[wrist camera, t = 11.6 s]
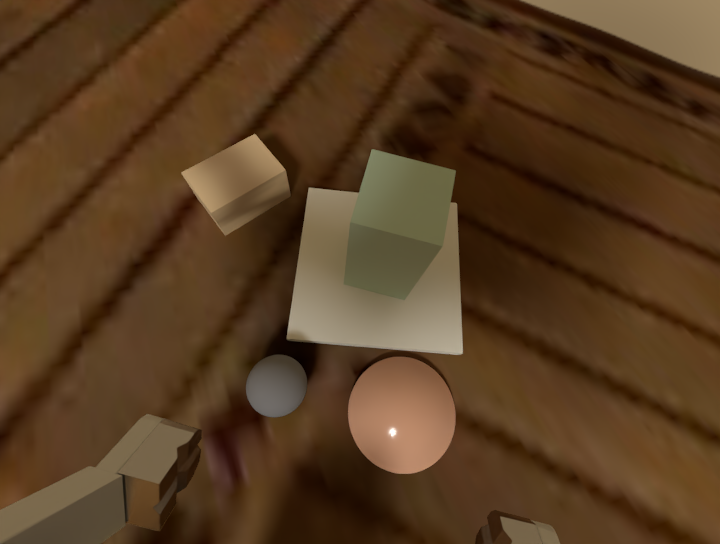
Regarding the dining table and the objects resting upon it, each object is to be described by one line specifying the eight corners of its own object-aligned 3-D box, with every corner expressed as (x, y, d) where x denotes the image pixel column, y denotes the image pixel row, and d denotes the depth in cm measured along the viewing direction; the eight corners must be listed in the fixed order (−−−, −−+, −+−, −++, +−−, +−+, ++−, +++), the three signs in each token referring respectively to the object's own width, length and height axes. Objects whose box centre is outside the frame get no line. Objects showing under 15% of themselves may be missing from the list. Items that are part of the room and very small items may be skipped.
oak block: (263, 164, 29) (254, 134, 26) (291, 197, 28) (285, 169, 25) (199, 200, 27) (180, 172, 24) (226, 236, 26) (211, 213, 23)
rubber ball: (311, 360, 23) (308, 353, 20) (305, 418, 22) (300, 420, 19) (258, 356, 23) (246, 348, 20) (248, 414, 22) (233, 415, 18)
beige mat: (453, 208, 28) (457, 203, 28) (458, 354, 24) (462, 353, 23) (309, 193, 28) (308, 187, 27) (287, 340, 24) (286, 338, 23)
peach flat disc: (449, 361, 24) (453, 360, 24) (453, 474, 22) (458, 476, 21) (351, 354, 24) (351, 353, 23) (344, 468, 21) (344, 471, 21)
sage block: (415, 245, 26) (456, 170, 18) (404, 300, 24) (442, 246, 16) (358, 230, 26) (372, 148, 18) (343, 284, 24) (350, 222, 16)
